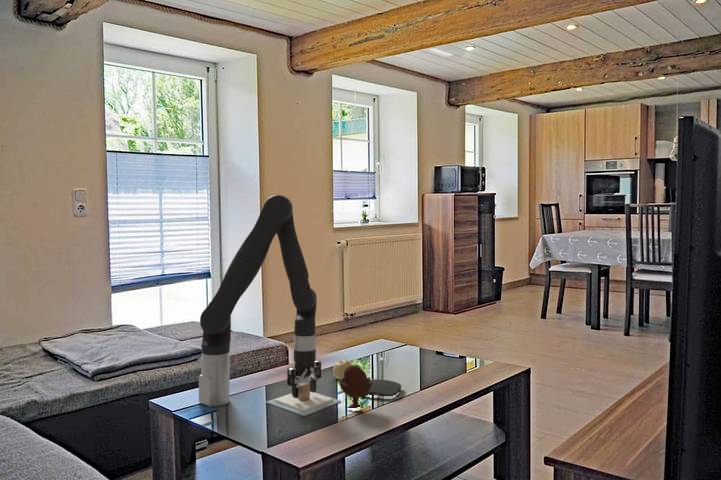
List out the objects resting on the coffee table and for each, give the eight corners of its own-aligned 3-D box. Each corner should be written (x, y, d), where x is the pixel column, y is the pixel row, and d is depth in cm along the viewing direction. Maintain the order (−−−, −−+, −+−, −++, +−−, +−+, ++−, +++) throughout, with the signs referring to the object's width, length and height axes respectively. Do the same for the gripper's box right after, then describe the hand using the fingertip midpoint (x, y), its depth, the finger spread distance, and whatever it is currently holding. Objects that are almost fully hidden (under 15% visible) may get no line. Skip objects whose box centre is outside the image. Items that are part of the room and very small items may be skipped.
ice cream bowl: (372, 415, 196) (373, 369, 194) (337, 414, 196) (338, 369, 195) (372, 404, 206) (373, 360, 205) (339, 403, 206) (340, 359, 205)
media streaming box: (402, 388, 224) (403, 381, 224) (394, 402, 210) (394, 393, 210) (364, 384, 228) (364, 377, 227) (353, 397, 214) (353, 389, 213)
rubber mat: (303, 416, 194) (303, 415, 194) (266, 402, 205) (266, 401, 205) (341, 402, 208) (341, 400, 208) (304, 390, 219) (304, 389, 219)
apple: (358, 377, 234) (354, 363, 230) (340, 388, 231) (336, 374, 227) (349, 366, 240) (345, 352, 236) (331, 376, 237) (327, 362, 233)
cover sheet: (303, 411, 197) (304, 394, 196) (274, 401, 206) (274, 384, 205) (333, 400, 207) (333, 384, 207) (303, 391, 216) (304, 375, 216)
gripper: (297, 353, 197) (297, 402, 198) (327, 345, 208) (326, 392, 209) (281, 349, 202) (281, 397, 203) (311, 341, 213) (311, 387, 214)
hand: (304, 394), depth 206 cm, fingers open, 7 cm apart
